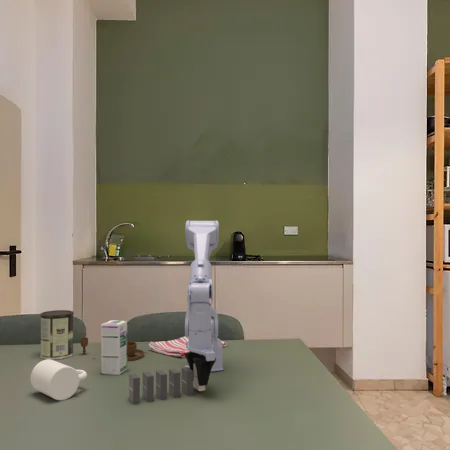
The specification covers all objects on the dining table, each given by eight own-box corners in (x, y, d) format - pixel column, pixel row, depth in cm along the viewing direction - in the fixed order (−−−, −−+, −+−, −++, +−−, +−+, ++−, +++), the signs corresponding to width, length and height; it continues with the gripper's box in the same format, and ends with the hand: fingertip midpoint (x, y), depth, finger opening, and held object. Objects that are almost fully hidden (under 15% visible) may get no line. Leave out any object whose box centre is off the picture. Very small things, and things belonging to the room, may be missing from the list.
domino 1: (135, 397, 120) (135, 373, 120) (139, 403, 116) (139, 377, 116) (128, 398, 119) (129, 374, 119) (133, 404, 115) (133, 378, 115)
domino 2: (148, 395, 121) (148, 371, 121) (153, 400, 117) (153, 375, 117) (142, 396, 120) (142, 372, 120) (147, 401, 117) (147, 376, 117)
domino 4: (174, 392, 124) (174, 368, 124) (180, 397, 120) (180, 372, 120) (168, 393, 123) (168, 369, 123) (173, 397, 120) (174, 373, 120)
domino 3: (161, 393, 122) (162, 370, 123) (167, 398, 119) (167, 374, 119) (155, 394, 122) (155, 370, 122) (160, 399, 118) (160, 375, 118)
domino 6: (199, 391, 122) (199, 367, 123) (193, 386, 126) (193, 363, 126) (205, 390, 123) (205, 366, 123) (199, 385, 127) (199, 362, 127)
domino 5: (187, 390, 125) (187, 366, 125) (193, 395, 122) (193, 370, 122) (181, 391, 125) (181, 367, 125) (186, 396, 121) (187, 371, 121)
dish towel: (146, 352, 167) (146, 341, 167) (194, 340, 184) (194, 331, 184) (181, 361, 156) (181, 350, 156) (228, 348, 173) (228, 338, 173)
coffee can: (59, 350, 166) (59, 309, 167) (79, 354, 161) (80, 311, 161) (33, 356, 158) (33, 313, 158) (53, 361, 152) (54, 316, 152)
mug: (48, 404, 115) (49, 370, 115) (29, 394, 122) (30, 362, 122) (93, 392, 124) (94, 360, 124) (73, 383, 130) (74, 353, 131)
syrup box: (119, 375, 138) (120, 324, 138) (100, 374, 139) (100, 323, 139) (127, 369, 144) (128, 320, 144) (109, 368, 145) (109, 319, 145)
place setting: (114, 367, 148) (115, 348, 148) (76, 356, 160) (76, 338, 160) (157, 356, 161) (157, 338, 161) (119, 347, 174) (119, 330, 174)
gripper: (226, 333, 120) (225, 388, 120) (203, 323, 133) (203, 373, 133) (199, 335, 117) (199, 392, 117) (179, 325, 130) (178, 376, 130)
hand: (199, 382), depth 125 cm, fingers closed on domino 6, 4 cm apart
